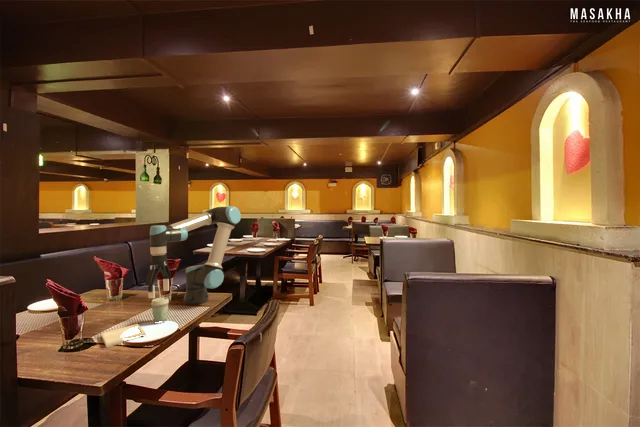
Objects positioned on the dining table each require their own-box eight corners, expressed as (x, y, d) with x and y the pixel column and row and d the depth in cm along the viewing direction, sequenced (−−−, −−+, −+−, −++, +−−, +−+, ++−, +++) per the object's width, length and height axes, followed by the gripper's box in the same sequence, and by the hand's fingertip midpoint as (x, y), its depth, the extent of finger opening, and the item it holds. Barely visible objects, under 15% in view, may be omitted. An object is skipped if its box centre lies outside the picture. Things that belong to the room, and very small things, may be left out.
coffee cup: (161, 325, 148) (160, 302, 148) (147, 324, 150) (146, 301, 149) (173, 319, 156) (172, 297, 156) (159, 318, 158) (159, 296, 158)
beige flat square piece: (137, 327, 146) (137, 323, 146) (145, 336, 135) (145, 332, 135) (100, 337, 135) (100, 333, 135) (106, 347, 125) (106, 343, 125)
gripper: (164, 251, 165) (165, 288, 165) (136, 258, 140) (137, 301, 140) (177, 251, 165) (178, 287, 165) (151, 258, 140) (152, 301, 140)
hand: (159, 294), depth 152 cm, fingers open, 13 cm apart
